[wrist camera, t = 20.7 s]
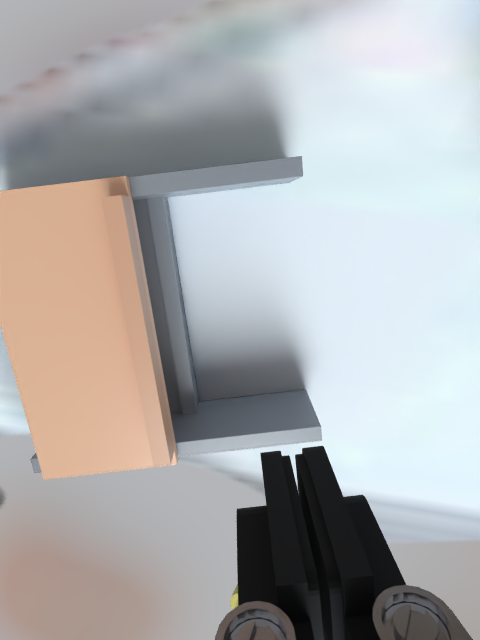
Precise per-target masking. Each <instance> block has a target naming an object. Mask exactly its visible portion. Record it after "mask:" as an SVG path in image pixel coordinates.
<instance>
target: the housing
mask: <svg viewBox="0 0 480 640" xmlns="http://www.w3.org/2000/svg"><path fill="white" fill-rule="evenodd" d="M302 176H303V168H302V156H299V157H290V158H282V159H274V160H266V161H257V162H249V163H241V164H233V165H224V166H216V167H208V168H200V169H191V170H183V171H175V172H167V173H158V174H150V175H142V176H134V177H129V183H130V188H131V194H132V200H133V205H134V211H135V217H136V222H137V228H138V234H139V239H140V245H141V251H142V256H143V262H144V267H145V273H146V279H147V284H148V290H149V296H150V301H151V307H152V313H153V318H154V324H155V330H156V335H157V341H158V347H159V352H160V358H161V364H162V369H163V375H164V380H165V386H166V392H167V397H168V403H169V409H170V414H171V420H172V426H173V431H174V437H175V443H176V448H177V454H178V457H181V456H190V455H198V454H207V453H216V452H225V451H234V450H243V449H251V448H260V447H269V446H278V445H287V444H295V443H304V442H313V441H322V434H321V425H320V423H319V421H318V418H317V416H316V413H315V411H314V408H313V406H312V404H311V401H310V399H309V396H308V394H307V391H306V389H305V390H297V391H288V392H279V393H271V394H262V395H253V396H244V397H236V398H227V399H218V400H210V401H201V402H199V399H198V393H197V386H196V380H195V373H194V367H193V361H192V354H191V348H190V341H189V335H188V328H187V322H186V316H185V309H184V303H183V296H182V290H181V283H180V277H179V271H178V264H177V258H176V251H175V245H174V238H173V232H172V226H171V219H170V213H169V206H168V200H167V197H174V196H182V195H191V194H199V193H207V192H216V191H224V190H232V189H240V188H249V187H257V186H265V185H274V184H282V183H289V182H292V181H294V180H296V179H298V178H300V177H302ZM31 463H32V467H33V470H34V473H40V472H41V468H40V464H39V461H38V457H37V454H36V453H35V455H34V456H33V457H32V458H31Z"/></svg>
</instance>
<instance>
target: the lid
mask: <svg viewBox="0 0 480 640" xmlns="http://www.w3.org/2000/svg"><path fill="white" fill-rule="evenodd" d="M0 325H1V328H2V332H3V336H4V339H5V343H6V346H7V350H8V353H9V357H10V361H11V364H12V368H13V371H14V375H15V379H16V382H17V386H18V389H19V393H20V396H21V400H22V404H23V407H24V411H25V414H26V418H27V421H28V425H29V429H30V432H31V436H32V439H33V443H34V447H35V450H36V454H37V457H38V461H39V464H40V468H41V472H42V475H43V479H44V480H45V479H54V478H63V477H72V476H80V475H89V474H98V473H106V472H115V471H125V470H133V469H142V468H151V467H159V466H168V465H177V462H178V454H177V448H176V443H175V437H174V431H173V426H172V420H171V414H170V409H169V403H168V397H167V392H166V386H165V380H164V375H163V369H162V364H161V358H160V352H159V347H158V341H157V335H156V330H155V324H154V318H153V313H152V307H151V301H150V296H149V290H148V284H147V279H146V273H145V267H144V262H143V256H142V251H141V245H140V239H139V234H138V228H137V222H136V217H135V211H134V205H133V200H132V194H131V188H130V183H129V177H128V176H119V177H111V178H103V179H94V180H86V181H78V182H70V183H61V184H53V185H45V186H37V187H28V188H20V189H12V190H4V191H0Z"/></svg>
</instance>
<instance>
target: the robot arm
mask: <svg viewBox="0 0 480 640" xmlns="http://www.w3.org/2000/svg"><path fill="white" fill-rule="evenodd" d="M295 459H296V470H297V481H298V490H297V486H296V482H295V478H294V473H293V469H292V465H291V460H290V456H282V455H281V451H273V452H265V453H261V462H262V470H263V479H264V488H265V496H266V505H267V506H259V507H250V508H241V509H237V561H238V562H237V563H238V564H237V565H238V606H237V607H235V608H234V609H233V610H232V611H231V612H229V613H228V614H227V615H226V616H225V618H224V619H223V621H222V622H221V623H220V625H219V628H218V631H217V634H216V636H215V640H473V639H472V638H471V636H470V635H469V634H468V632H467V631H466V630H465V628H464V627H463V625H462V624H461V623H460V621H459V620H458V619H457V617H456V616H455V614H454V613H453V611H452V610H451V609H449V607H448V606H447V605H446V604H445V603H444V602H443V601H442V600H441V599H440V598H438V597H437V596H435V595H434V594H432V593H431V592H429V591H426V590H424V589H421V588H419V587H414V586H408V585H406V583H405V582H404V579H403V577H402V575H401V573H400V571H399V568H398V566H397V564H396V562H395V560H394V558H393V556H392V553H391V551H390V549H389V547H388V545H387V543H386V540H385V538H384V536H383V534H382V532H381V530H380V528H379V525H378V523H377V521H376V519H375V517H374V515H373V512H372V510H371V508H370V506H369V504H368V502H367V500H366V498H365V496H363V495H357V496H348V497H343V495H342V492H341V490H340V487H339V485H338V482H337V480H336V477H335V474H334V472H333V469H332V467H331V464H330V462H329V459H328V456H327V454H326V451H325V449H324V447H323V446H318V447H309V448H303V449H302V454H297V455H295ZM298 492H299V495H298Z"/></svg>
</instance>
